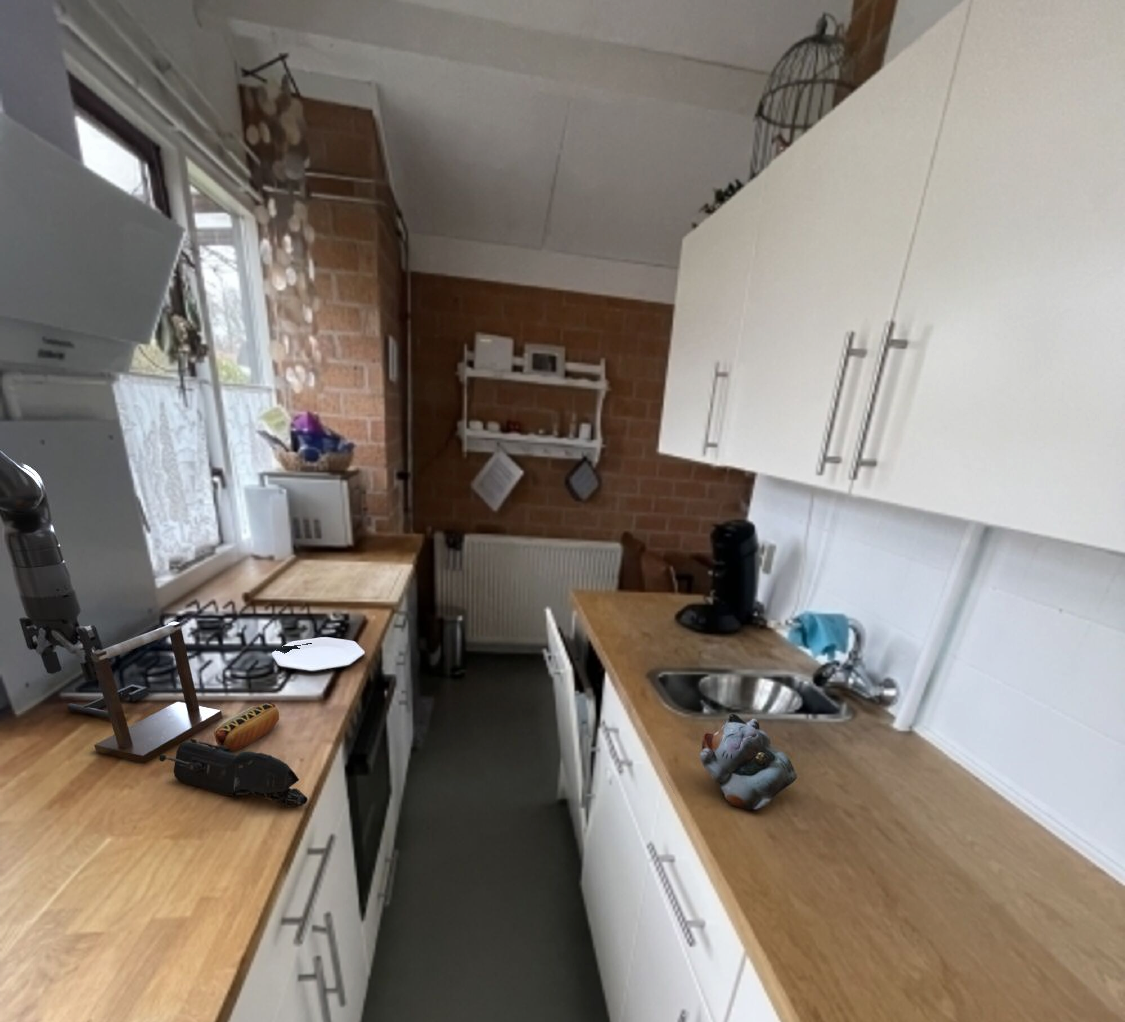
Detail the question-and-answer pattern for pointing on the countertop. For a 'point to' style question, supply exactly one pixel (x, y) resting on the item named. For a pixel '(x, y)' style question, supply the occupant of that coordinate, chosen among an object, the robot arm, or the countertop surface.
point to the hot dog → (247, 726)
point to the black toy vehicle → (235, 772)
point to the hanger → (94, 706)
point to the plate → (319, 654)
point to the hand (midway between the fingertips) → (73, 676)
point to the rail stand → (162, 726)
